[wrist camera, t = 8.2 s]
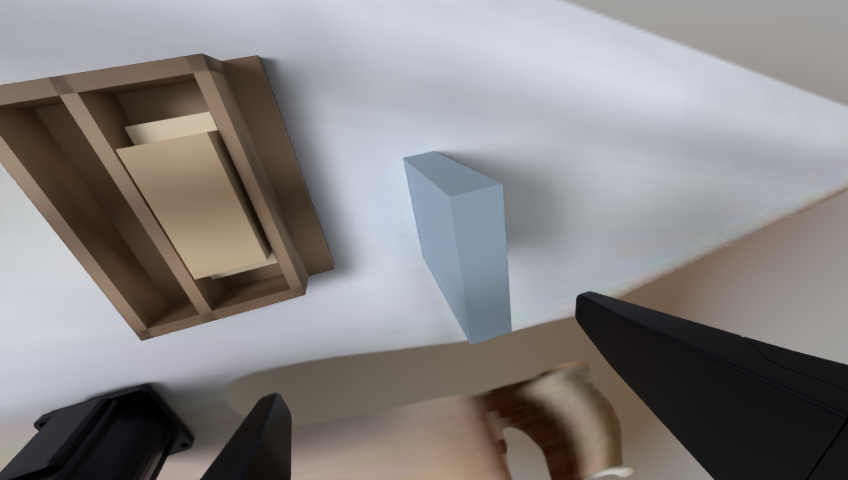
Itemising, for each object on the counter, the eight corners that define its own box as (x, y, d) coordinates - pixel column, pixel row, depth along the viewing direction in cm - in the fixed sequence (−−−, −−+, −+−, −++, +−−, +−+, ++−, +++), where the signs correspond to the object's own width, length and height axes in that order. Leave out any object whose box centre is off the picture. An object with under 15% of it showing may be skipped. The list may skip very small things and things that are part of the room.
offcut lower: (281, 252, 18) (277, 262, 17) (220, 268, 18) (212, 279, 17) (220, 111, 15) (209, 111, 14) (141, 125, 14) (124, 127, 13)
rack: (334, 264, 20) (333, 286, 17) (154, 313, 18) (124, 345, 16) (260, 57, 15) (243, 46, 12) (-1, 99, 13) (-81, 97, 11)
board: (449, 249, 22) (511, 331, 14) (422, 256, 21) (470, 345, 13) (433, 151, 19) (502, 183, 11) (402, 158, 18) (449, 196, 10)
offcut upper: (272, 250, 17) (267, 260, 16) (205, 267, 16) (194, 279, 15) (217, 129, 14) (206, 131, 13) (134, 146, 13) (115, 149, 12)
